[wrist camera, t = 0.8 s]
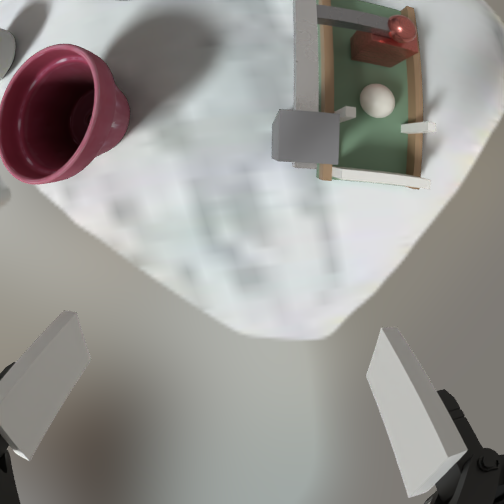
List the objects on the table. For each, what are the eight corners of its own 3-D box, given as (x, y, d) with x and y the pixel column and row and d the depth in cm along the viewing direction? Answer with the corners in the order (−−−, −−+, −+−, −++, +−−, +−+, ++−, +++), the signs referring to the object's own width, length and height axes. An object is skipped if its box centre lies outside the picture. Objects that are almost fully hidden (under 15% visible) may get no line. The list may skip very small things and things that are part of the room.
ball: (355, 84, 28) (366, 77, 25) (386, 90, 28) (400, 84, 25) (355, 117, 30) (366, 113, 26) (386, 121, 30) (401, 119, 26)
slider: (280, -38, 22) (285, -85, 13) (379, -22, 22) (409, -58, 13) (279, 163, 31) (288, 168, 22) (389, 172, 31) (434, 182, 22)
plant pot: (135, 49, 29) (85, 15, 16) (164, 146, 33) (115, 146, 21) (51, 99, 30) (-12, 93, 18) (74, 188, 35) (11, 207, 22)
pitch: (273, -5, 26) (278, -60, 14) (402, 17, 26) (447, -19, 14) (271, 175, 34) (277, 187, 22) (406, 185, 33) (462, 203, 22)
